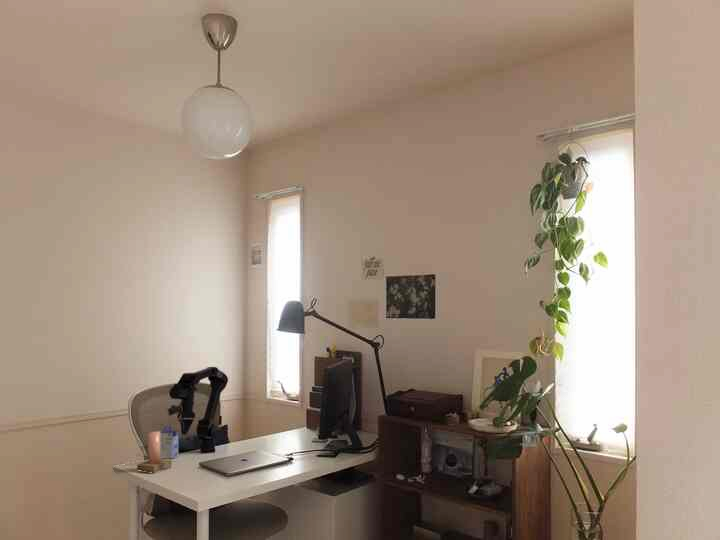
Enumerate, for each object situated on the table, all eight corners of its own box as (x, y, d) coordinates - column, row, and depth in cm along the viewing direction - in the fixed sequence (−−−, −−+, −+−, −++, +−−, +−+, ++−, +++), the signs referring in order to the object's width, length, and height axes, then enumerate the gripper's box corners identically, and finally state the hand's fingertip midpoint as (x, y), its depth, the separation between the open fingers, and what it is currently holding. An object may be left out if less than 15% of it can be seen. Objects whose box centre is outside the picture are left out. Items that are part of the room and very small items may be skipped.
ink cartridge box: (179, 456, 267) (178, 425, 268) (173, 459, 262) (172, 427, 263) (160, 455, 269) (160, 425, 270) (154, 458, 264) (153, 427, 265)
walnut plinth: (155, 465, 251) (155, 458, 251) (171, 467, 247) (171, 460, 247) (137, 471, 242) (137, 464, 242) (153, 473, 238) (153, 466, 238)
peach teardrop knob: (162, 460, 247) (162, 431, 248) (157, 463, 242) (157, 433, 243) (151, 461, 247) (151, 431, 248) (146, 464, 242) (146, 433, 243)
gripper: (167, 400, 266) (163, 434, 262) (171, 398, 249) (167, 434, 245) (191, 401, 270) (188, 434, 266) (196, 399, 254) (193, 435, 249)
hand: (183, 434), depth 256 cm, fingers open, 9 cm apart
